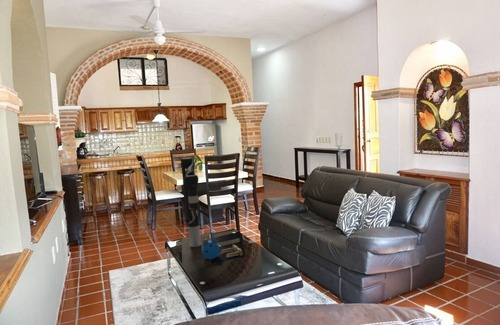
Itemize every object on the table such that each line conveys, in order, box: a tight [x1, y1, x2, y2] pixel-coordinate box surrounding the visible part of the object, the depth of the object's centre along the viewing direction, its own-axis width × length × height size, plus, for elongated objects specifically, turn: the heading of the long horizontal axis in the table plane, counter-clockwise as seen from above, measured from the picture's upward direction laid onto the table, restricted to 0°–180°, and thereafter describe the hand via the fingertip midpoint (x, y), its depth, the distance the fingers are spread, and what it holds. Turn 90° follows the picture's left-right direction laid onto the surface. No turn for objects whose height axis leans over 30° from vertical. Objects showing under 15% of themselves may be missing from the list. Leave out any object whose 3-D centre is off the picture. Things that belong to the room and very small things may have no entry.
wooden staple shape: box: [220, 244, 243, 259], centre depth 278 cm, size 16×12×4 cm
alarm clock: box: [201, 237, 221, 260], centre depth 271 cm, size 13×6×15 cm, turn 108°
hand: (196, 223), depth 273 cm, fingers closed
